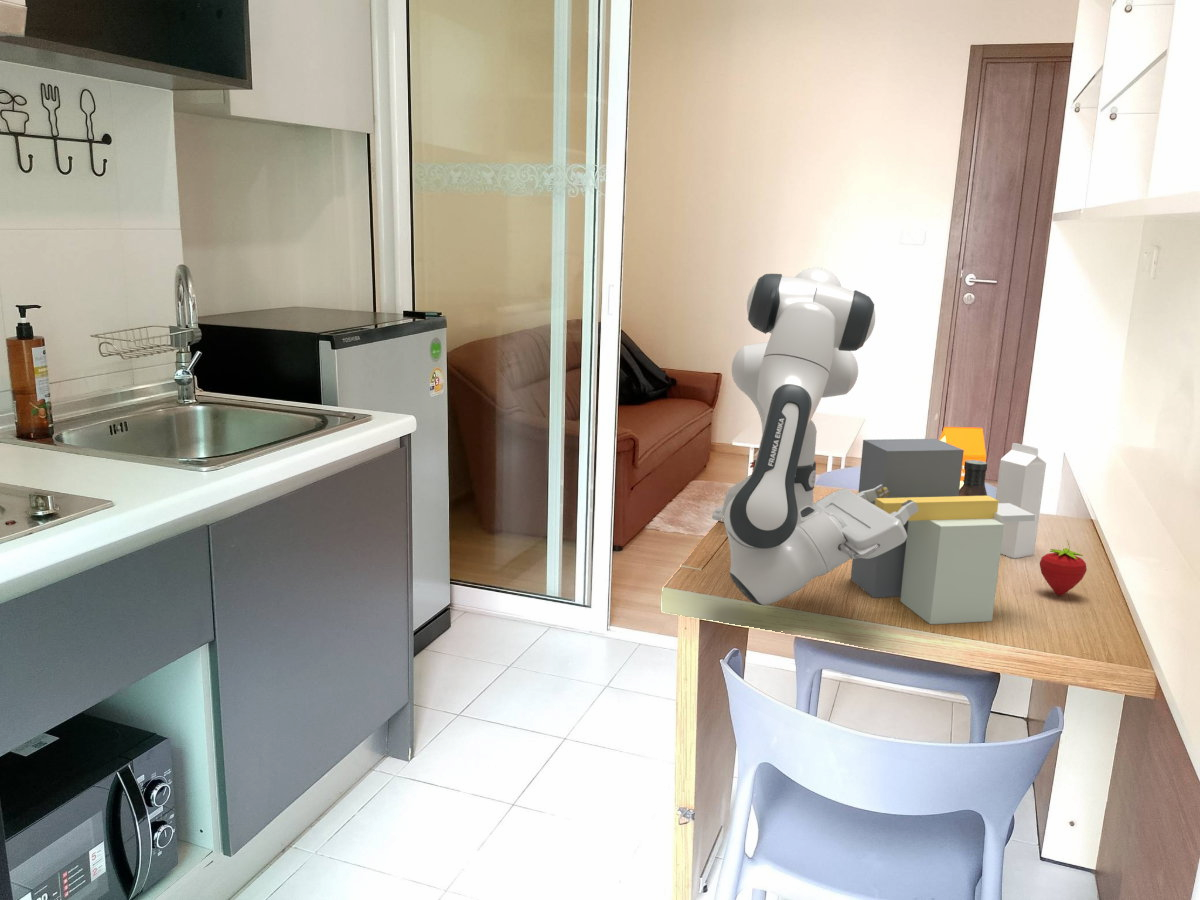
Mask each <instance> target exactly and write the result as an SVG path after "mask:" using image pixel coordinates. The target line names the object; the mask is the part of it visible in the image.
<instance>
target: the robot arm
mask: <svg viewBox="0 0 1200 900" xmlns="http://www.w3.org/2000/svg"><path fill="white" fill-rule="evenodd" d="M746 312H747V316H748V317H747V320H748V322H749V324H750V325H751V326H752V328H753V329H755V330H757V331H759V332H760V333H763V334H765V335H766V334H768V333H769V334H770V336H769V340H767V341H768V342H758V343H751V344H747V345H742V347H740V349H738V350H737V351H736V353H735V355H734V357H733V359H732V363H731V377H732V379H733V381H734V384H735V385H736V387H737V388H738V389H739V390H740V391H741V392H742V393H744V394H745V395H746V396H747V397H748V398H749V399H750V401H752V403H753V405H754V406H755V408H756V411H758V414H759V418H760V422H761V423H760V424H761V431H762V433H761V434H762V435H761V439H760V442H759V447H758V451H757V454H756V455H757V456H756V459H754V460H753V461H752V462H750V465H749V468H750V469H751V468H753V469H752V470H753V471H752V472H751V474H750V475H748V476H746V477H745V478H744V479H741V481H739V482H737V483H736V484H734V485H733V486H731V487H730V488H729V489H728V490H727V492H726V494H725V498H724V501H723V505H721V506H720V507H716V509H714V511H713V512H712V516H711V518H712V520H713V521H714V520H715V521H719V522H721V523H724V526H725V531H726V535H727V538H728V544H729V551H730V569H729V575H730V578H731V581H732V582H733V583H734V584H735V586H736V588H737V589H738V590H739V591H740V592H741V593H742V595H743V596H745V598H747V599H748V600H749V601H750V602H752V603H753V604H756V605H759V606H769V605H771V604H774V603H777V602H779V601H781V600H783V599H785V598H787V597H790V596H791V595H793V594H794V593H796V592H798V591H800V590H801V589H803V588H804V587H805V586H807V584H808V583H809V582H810V581H811V580H814V579H815V578H817V577H821V576H824V575H826V574H828V573H830V572H831V571H833V570H834V569H836V568H838V567H840V566H841V565H843V564H845V563H847V562H848V561H850V560H851V559H856V558H865V559H869V558H873V557H876V556H878V555H881V554H883V553H885V552H887V551H889V550H891V549H893V548H895V547H897V546H899V545H900V544H902V543H904V542H905V540H906V539H907V533H906V531H905V529H904V527H903V525H905V523H906V522H907V520H908V519H909V518H910V516H911V515H913V514H914V513H916V512H918V510H919V508H918V506H917V504H916V503H915V502H914V501H912V500H908V501H907V502H904V503H903V504H901V505H902V508H901V509H900V510H899V511H898V512H893V513H891V514H889V513H887V512H885V511H884V510H882V509H880V508H879V507H877V506H875V505H874V504H872V503H870V502H872V501H875V500H876V498H885V497H887V496H889V491H888V489H887V487H885V486H884V485H879V486H877V487H875V488H874V489H870V490H866V491H862V492H860V493H855V492H853V491H851V490H850V489H849V488H841V489H838V490H835V491H833V492H831V493H830V494H828V495H826V496H823V497H822V498H820V499H819V500H817V501H815V502H814V489H815V484H816V480H817V479H816V478H817V462H816V461H815V458H816V456H815V455H816V446H817V432H818V431H817V427H816V425H815V423H814V421H813V420H812V419H813V416H814V414H815V413H816V410H817V409H818V406H819V404H820V402H821V400H822V399H823V398H830V397H837V396H842V395H843V396H844V395H847V394H849V392H850V391H851V390H852V389H853V388H854V386H855V384H856V382H857V380H858V375H859V365H858V361H857V359H856V357H855V355H854V354H853V352H854V351H855V352H856V351H857V350H859V349H861V348H862V347H864V344H865V343H866V342H867V340H869V339H870V337H871V335H872V332H873V330H874V328H875V325H876V310H875V303H874V301H873V300H872V298H871V297H870V296H868V295H867V294H865V293H863V292H861V291H858V290H857V289H856V290H854V291H853V290H851V289H847V288H844V287H842V284H841V282H840V280H839V279H838V277H837V276H836V275H835V274H834V273H833V272H832V271H830V270H828V269H826V268H823V267H810V268H809V267H808V268H806V269H803V270H802V271H800V272H798V273H797V275H795V276H794V277H793V276H785V275H783V274H782V273H764V275H762V276H760V277H759V278H758V279H757V281H756V283H755V284H754V285H753V286H752V288H751V289H750V291H749V294H748V297H747V300H746ZM723 516H724V517H723ZM721 519H722V521H720V520H721Z"/></svg>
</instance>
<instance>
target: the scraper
mask: <svg viewBox="0 0 1200 900" xmlns="http://www.w3.org/2000/svg"><path fill="white" fill-rule="evenodd" d="M908 500H912V501H914V502H915V503H916V504H917V506H918V508H919V510H918V512H916V513H914V514H913V515H911V516H910V518H909V519H908V520H907V521H917V520H952V519H987V518H992V519H993V518H994V519H996V520H998V521H1000V522H1014V521H1034V520H1035V515H1034V514H1032V513H1030V512H1028V511H1025V510H1023V509H1021V508H1019V507H1017V506H1015V505H1013V504H1011V503H998V502H999V500H996V498H994V497H993V496H990V495H987V496H950V497H908V498H876V500H875V506H877V507H879V508H880V509H882V510H884V511H885V512H887V513H889V514H891V513H893V512H898V511H899V510H900V509H901V508H902V505H901V504H903V503H904V502H907V501H908Z"/></svg>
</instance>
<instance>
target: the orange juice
mask: <svg viewBox="0 0 1200 900" xmlns="http://www.w3.org/2000/svg"><path fill="white" fill-rule="evenodd" d="M938 440H941V441H943V442H946V443H948V444H950V445H953V446H955V447H958V448H960V449H963V450H964V454H963V463H962V472H961V480H960V488H961V487H962V486H963V484H964V483H963V480H964V474H965V469H964V464H965V461H966V460H979V461H984V462H987V454H986V453H987V452H986V446H985V444H986V443H985V437H984V429H983V427H970V426H969V427H967V426H965V427H963V426H962V427H961V426H944V427H943V430H942V432H941V435H940V437H939V439H938ZM959 490H960V489H959Z"/></svg>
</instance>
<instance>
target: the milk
mask: <svg viewBox="0 0 1200 900" xmlns="http://www.w3.org/2000/svg"><path fill="white" fill-rule="evenodd" d="M1010 449H1011V450H1009V451H1008V452H1007V453H1006V454H1005V455H1003V457H1001V459H1000V462H999V470H998V475H997V486H996V494H995V499H996V500H999V502H998V503H1011V504H1013V505H1015V506H1017V507H1019V508H1021V509H1023V510H1025V511H1028V512H1030V513H1032V514H1034V515H1035V520H1034V521H1014V522H1000V521H998V520H996V519H994V518H992V519H994V520H996V521H998V522H1000V523H1002V524H1004V530H1003V538H1002V546H1001V554H1000V555H1002V554H1003V556H1005V555H1006V557H1009V558H1010V559H1011V558H1012V559H1018V558H1024V557H1029V556H1033V555H1035V549H1036V542H1037V535H1038V526H1039V522H1040V521H1039V520H1040V514H1041V513H1040V512H1041V511H1040V510H1041V505H1042V497H1043V492H1044V491H1043V490H1044V483H1045V477H1046V476H1045V475H1046V468H1047V467H1046V466H1047V462H1045V460H1043V459H1042V458H1040V456H1039V455H1038V454H1039V448H1038V447H1033V446H1029V445H1026V444H1022V443H1021V444H1020V443H1016V442H1013V443H1012V444H1011V448H1010Z"/></svg>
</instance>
